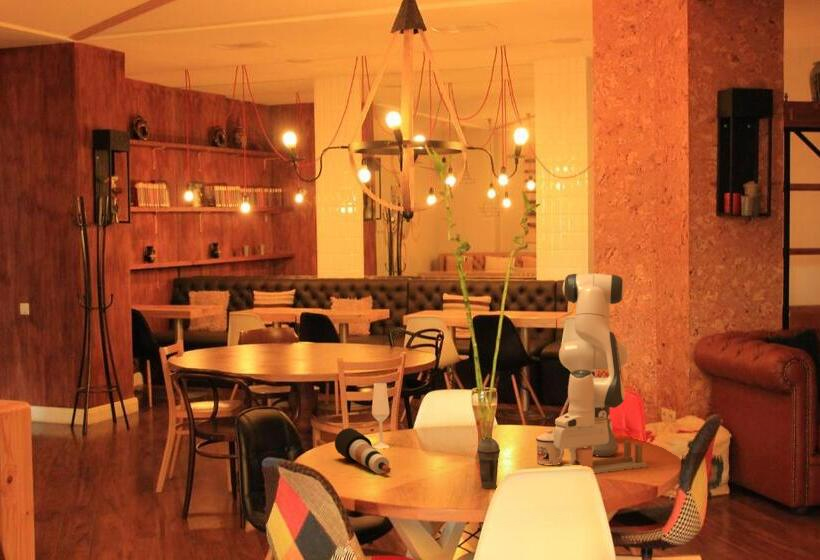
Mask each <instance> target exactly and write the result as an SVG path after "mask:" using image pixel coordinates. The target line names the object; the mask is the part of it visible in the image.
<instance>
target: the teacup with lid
mask: <svg viewBox="0 0 820 560" xmlns="http://www.w3.org/2000/svg"><path fill="white" fill-rule="evenodd" d="M535 440H536V462H537V464H538V463H539V464H538V465H540V464H550V465H551V464H552V465H555V464H558V463H561V462H562V463H563V457H564V454H565V449H558V448H556V447H555V446H554V432H553V430H552V429H546V432H544V433H542V434H540V435H537V436H536V439H535ZM562 463H561V464H562ZM555 466H556V465H555Z"/></svg>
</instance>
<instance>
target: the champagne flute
mask: <svg viewBox="0 0 820 560" xmlns="http://www.w3.org/2000/svg"><path fill="white" fill-rule="evenodd" d="M389 403H390V402H389V397H388V386H387V383H385V382H377V383H376V382H375V383H373V393H372V405H371V415H372V417H373V418H374V419H375V420H377V422H379V423H378V425H379V427H378V428H379V429H378V430H379V431H378V433H379V442H378V443H376V444H375V445H374V444H373V445H372V447H373V448H375V449H376V450H378V449H380V450H384V449H383V448H385V449H389V448H390V447H391V446H390V445H388V444H387V443H385V442H384V440H383V437H384V436H383V434H384V433H383V422H384V421H385V420H386V419H387V418H388V417H389V415H390V406H389ZM377 448H378V449H377Z"/></svg>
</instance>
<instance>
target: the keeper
mask: <svg viewBox="0 0 820 560" xmlns="http://www.w3.org/2000/svg"><path fill="white" fill-rule="evenodd" d="M574 452H575V454H576V455H578V460H577V461H573V460H572V455H571V454H570V464H571V465H572V463H577V462H580V465H582V466H588V467H591V468H592V467H593V457H594V456H593V450H591V449H588V448H586V446H585V447H576V451H574Z"/></svg>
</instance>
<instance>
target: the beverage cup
mask: <svg viewBox="0 0 820 560" xmlns="http://www.w3.org/2000/svg"><path fill="white" fill-rule="evenodd" d="M490 425H491V424H488V425H487V437H485V438H483V439H482V440H480V442H479V443H478V445H477V450H476V451H477V458H478V462H479V472H480V473H479V474H480V482H481V488H483V489H489V490H490V489H495V488H497V483H498V468H499V457H500V452H501V450H500V445H499V443H498V442H497V440H495V439H494V438H491V437H490Z"/></svg>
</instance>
